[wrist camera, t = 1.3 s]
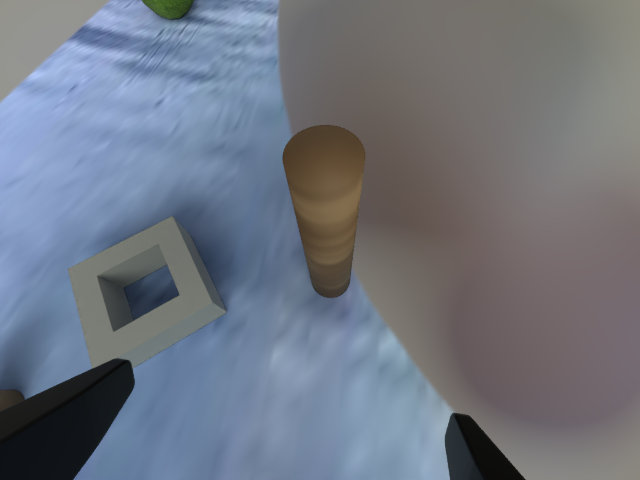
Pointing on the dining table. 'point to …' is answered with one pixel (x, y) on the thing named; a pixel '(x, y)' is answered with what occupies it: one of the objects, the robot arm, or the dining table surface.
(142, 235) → the hole block
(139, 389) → the dining table surface
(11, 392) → the short dowel
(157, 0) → the avocado
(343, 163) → the long dowel
